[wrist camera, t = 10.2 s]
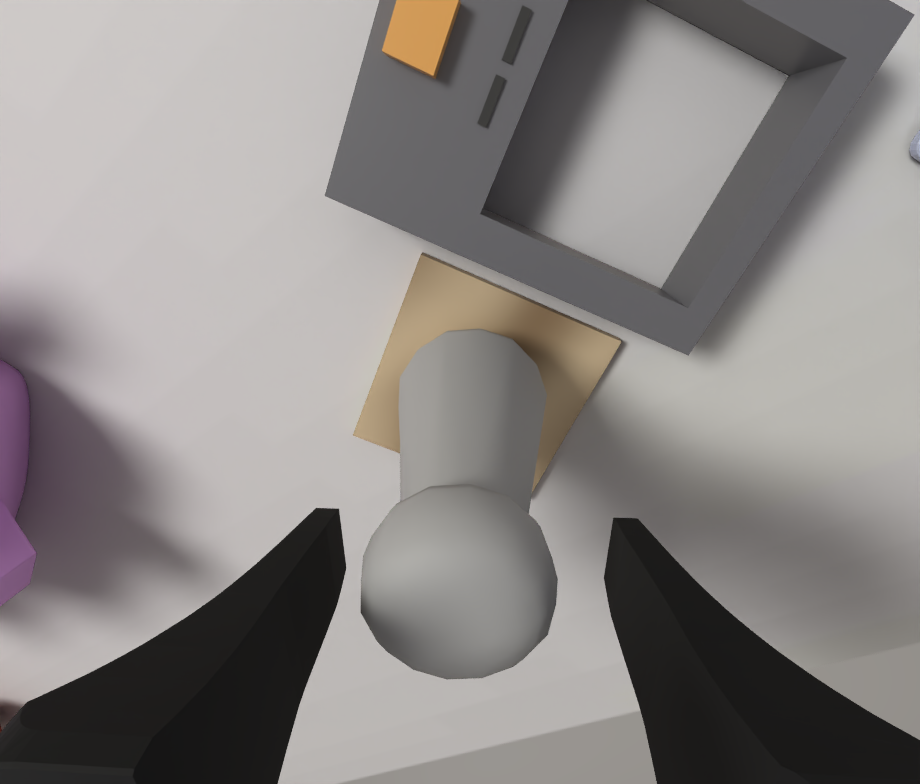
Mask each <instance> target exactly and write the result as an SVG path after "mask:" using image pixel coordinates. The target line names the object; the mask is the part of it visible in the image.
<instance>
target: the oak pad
mask: <svg viewBox="0 0 920 784" xmlns="http://www.w3.org/2000/svg"><path fill="white" fill-rule="evenodd" d="M479 328H481V329H484V330H487V331H490V332H493V333H496V334H499V335H503V336H506V337H509V338H512V339H513V340H514V341H515V342H516V343H517V344H518V345H519V346H520V347H521V348H522V350H523V351H524V352H525V353H526V354H527V355H528V356H529V357H530V358H531V359H532V360H533V361H534V362H535V363H536V365H537V366H538V369H539V372H540V375H541V378H542V381H543V384H544V387H545V390H546V393H547V398H546V404H545V411H544V417H543V424H542V430H541V437H540V443H539V450H538V456H537V462H536V469H535V475H534V482H533V488H532V492H533V490H534V488H535V487H536V485H537V483H538V482H539V480H540V478H541V477H542V475H543V473H544V472H545V470H546V468H547V467H548V465H549V463H550V462H551V460H552V458H553V456H554V455H555V453H556V451H557V450H558V448H559V446H560V445H561V443H562V441H563V440H564V438H565V436H566V435H567V433H568V431H569V429H570V428H571V426H572V424H573V423H574V421H575V419H576V418H577V416H578V414H579V413H580V411H581V409H582V408H583V406H584V404H585V403H586V401H587V399H588V397H589V396H590V394H591V392H592V391H593V389H594V387H595V386H596V384H597V382H598V381H599V379H600V377H601V376H602V374H603V372H604V370H605V369H606V367H607V365H608V364H609V362H610V360H611V359H612V357H613V355H614V354H615V352H616V350H617V349H618V347H619V345H620V344H621V340H620V339H619V338H618V337H615V336H613V335H611V334H609V333H606V332H604V331H602V330H599V329H597V328H595V327H592V326H590V325H588V324H586V323H583V322H581V321H579V320H576V319H574V318H572V317H570V316H567V315H565V314H563V313H560V312H558V311H556V310H553V309H551V308H549V307H547V306H544V305H542V304H540V303H537V302H535V301H533V300H531V299H528V298H526V297H524V296H521V295H519V294H517V293H514V292H512V291H510V290H508V289H505V288H503V287H501V286H498V285H496V284H494V283H491V282H489V281H487V280H485V279H482V278H480V277H478V276H475V275H473V274H471V273H469V272H466V271H464V270H462V269H459V268H457V267H455V266H452V265H450V264H448V263H446V262H443V261H441V260H439V259H436V258H434V257H432V256H430V255H427V254H425V253H423V252H422V254H421V256H420V258H419V261H418V264H417V266H416V269H415V272H414V274H413V277H412V280H411V282H410V285H409V288H408V290H407V293H406V295H405V298H404V301H403V303H402V306H401V309H400V311H399V314H398V317H397V319H396V322H395V325H394V327H393V330H392V333H391V335H390V338H389V341H388V343H387V346H386V349H385V351H384V354H383V357H382V359H381V362H380V365H379V367H378V370H377V372H376V375H375V378H374V380H373V383H372V386H371V388H370V391H369V394H368V396H367V399H366V402H365V404H364V407H363V410H362V412H361V415H360V418H359V420H358V423H357V426H356V428H355V431H354V434H353V436H356V437H359V438H361V439H364V440H366V441H369V442H372V443H374V444H377V445H379V446H382V447H385V448H387V449H390V450H393V451H395V452H398V453H400V431H399V409H398V406H399V384H400V376H401V375H402V373H403V372H404V370H405V369H406V367H407V365H408V364H409V362H410V361H411V359H412V358H413V356H414V355H415V353H416V352H417V350H419V349H420V348H421V347H423V346H424V345H426V344H427V343H429V342H431V341H432V340H434V339H435V338H437V337H438V336H440V335H442V334H443V333H445V332H446V331H453V330H466V329H479Z"/></svg>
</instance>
